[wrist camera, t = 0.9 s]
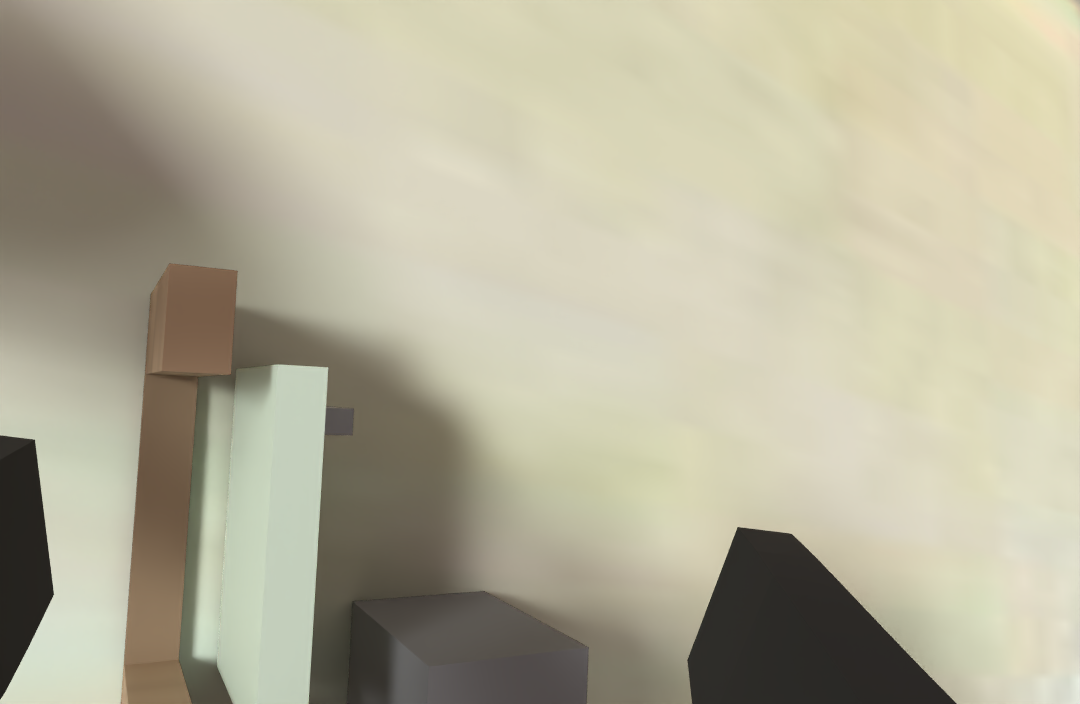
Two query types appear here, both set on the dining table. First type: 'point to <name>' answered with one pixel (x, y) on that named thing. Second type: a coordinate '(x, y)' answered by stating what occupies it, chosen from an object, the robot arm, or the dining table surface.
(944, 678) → the dining table surface
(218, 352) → the wall
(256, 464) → the door
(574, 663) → the block
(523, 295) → the dining table surface
